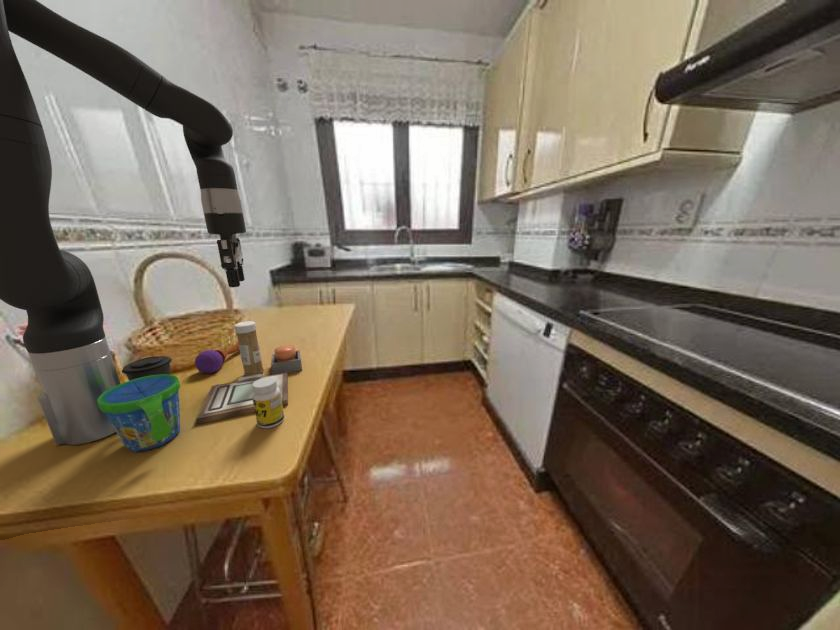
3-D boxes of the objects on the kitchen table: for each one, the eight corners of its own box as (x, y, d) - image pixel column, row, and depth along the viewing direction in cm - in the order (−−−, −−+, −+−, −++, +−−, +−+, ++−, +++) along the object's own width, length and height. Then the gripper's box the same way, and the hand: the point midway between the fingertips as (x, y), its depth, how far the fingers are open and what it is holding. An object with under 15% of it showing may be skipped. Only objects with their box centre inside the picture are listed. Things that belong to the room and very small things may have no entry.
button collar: (272, 375, 79) (270, 364, 78) (273, 364, 85) (272, 354, 84) (302, 370, 81) (300, 359, 81) (301, 360, 88) (299, 350, 87)
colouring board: (197, 424, 60) (195, 414, 59) (213, 390, 72) (211, 382, 72) (288, 404, 66) (286, 396, 65) (287, 376, 78) (286, 369, 77)
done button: (276, 367, 80) (274, 353, 79) (276, 360, 84) (274, 347, 83) (297, 364, 82) (295, 350, 81) (296, 357, 86) (294, 344, 85)
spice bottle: (266, 373, 80) (257, 323, 77) (247, 379, 77) (237, 327, 74) (260, 367, 84) (251, 319, 80) (241, 373, 81) (231, 323, 77)
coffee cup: (154, 415, 63) (141, 369, 60) (123, 411, 65) (108, 367, 62) (190, 394, 71) (180, 353, 68) (161, 391, 72) (150, 351, 70)
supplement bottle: (251, 425, 59) (243, 384, 57) (273, 412, 63) (266, 374, 61) (268, 432, 57) (261, 390, 55) (290, 418, 61) (283, 378, 59)
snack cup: (201, 443, 54) (187, 391, 51) (118, 478, 47) (97, 419, 44) (182, 410, 65) (170, 364, 62) (112, 434, 57) (95, 384, 55)
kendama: (257, 335, 98) (212, 356, 78) (255, 353, 99) (211, 378, 79) (238, 332, 98) (189, 352, 78) (237, 350, 99) (188, 374, 79)
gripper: (210, 213, 75) (224, 281, 79) (195, 210, 62) (212, 290, 66) (246, 213, 77) (257, 278, 82) (238, 209, 65) (252, 287, 69)
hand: (237, 283), depth 74 cm, fingers open, 8 cm apart
